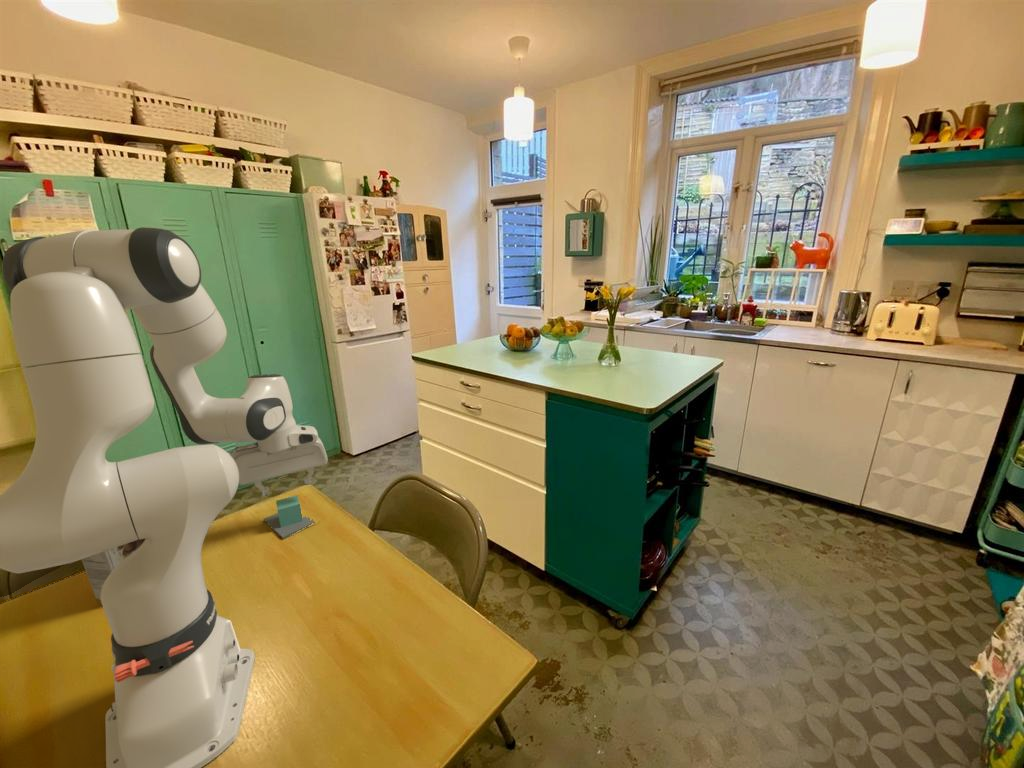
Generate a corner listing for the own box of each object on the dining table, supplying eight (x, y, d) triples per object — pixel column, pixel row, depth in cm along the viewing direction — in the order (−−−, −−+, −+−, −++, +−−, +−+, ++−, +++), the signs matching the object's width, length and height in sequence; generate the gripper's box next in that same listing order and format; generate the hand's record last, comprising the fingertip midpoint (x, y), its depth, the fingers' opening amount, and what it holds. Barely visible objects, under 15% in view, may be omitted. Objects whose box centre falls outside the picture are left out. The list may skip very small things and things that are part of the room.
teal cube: (302, 520, 108) (299, 503, 107) (280, 527, 106) (277, 510, 104) (300, 511, 112) (297, 495, 111) (279, 517, 110) (276, 500, 108)
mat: (319, 522, 108) (319, 520, 108) (283, 539, 102) (282, 537, 102) (299, 505, 116) (298, 503, 116) (263, 520, 109) (263, 518, 109)
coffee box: (138, 568, 93) (118, 504, 88) (164, 570, 92) (144, 506, 88) (94, 600, 84) (68, 531, 80) (121, 603, 83) (97, 533, 79)
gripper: (226, 453, 94) (239, 507, 98) (324, 433, 104) (332, 483, 108) (227, 444, 100) (239, 496, 103) (320, 425, 110) (328, 473, 113)
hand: (287, 489), depth 106 cm, fingers open, 8 cm apart
